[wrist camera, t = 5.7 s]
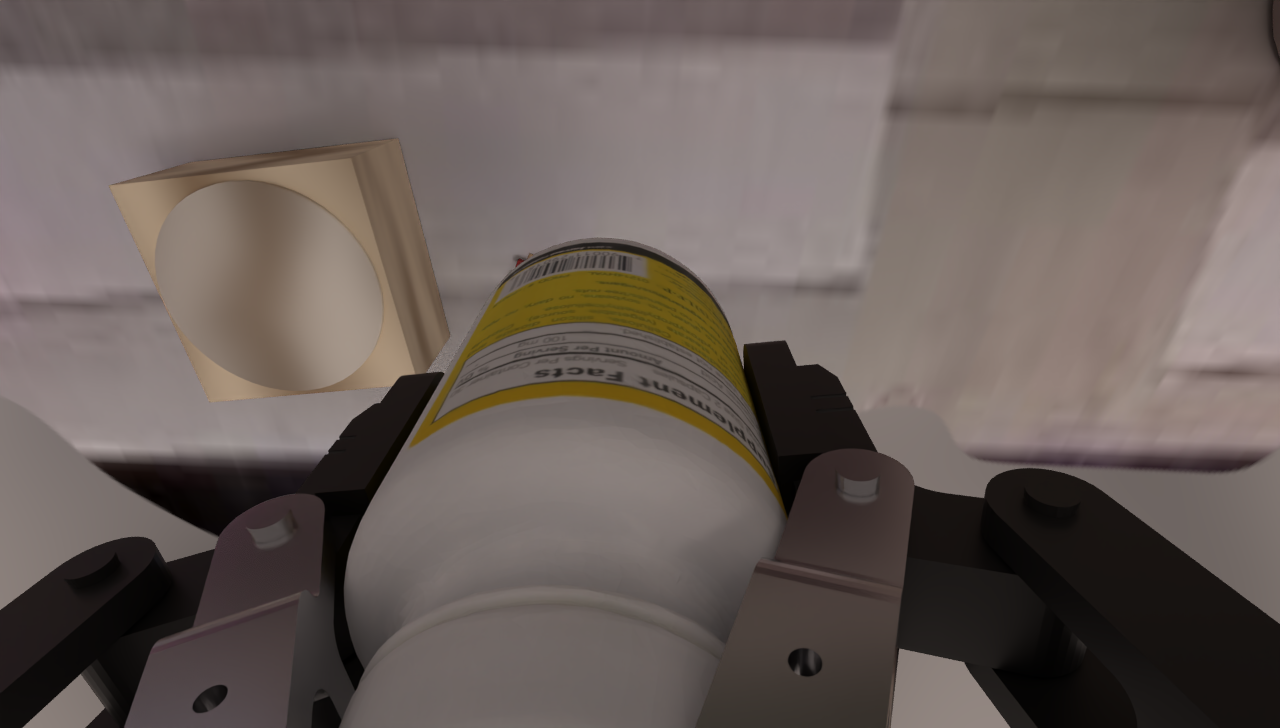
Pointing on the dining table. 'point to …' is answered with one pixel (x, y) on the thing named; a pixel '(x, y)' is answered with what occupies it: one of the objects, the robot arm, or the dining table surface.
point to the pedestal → (291, 268)
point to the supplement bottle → (567, 509)
